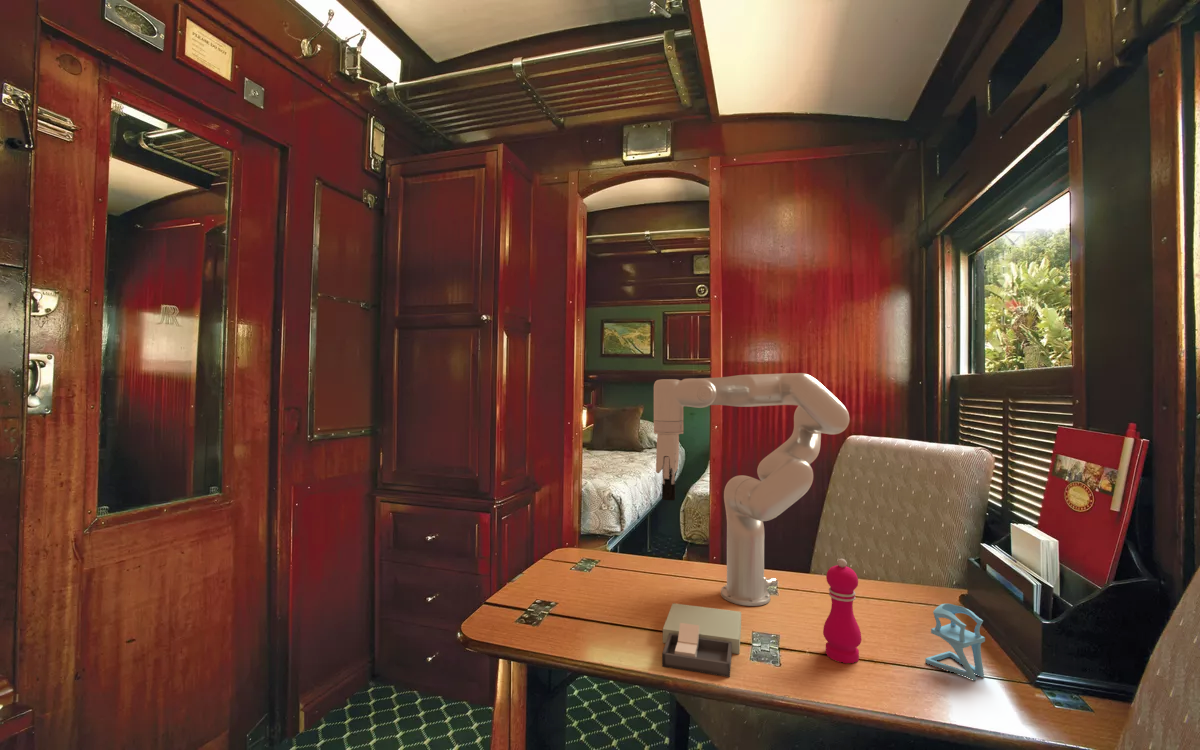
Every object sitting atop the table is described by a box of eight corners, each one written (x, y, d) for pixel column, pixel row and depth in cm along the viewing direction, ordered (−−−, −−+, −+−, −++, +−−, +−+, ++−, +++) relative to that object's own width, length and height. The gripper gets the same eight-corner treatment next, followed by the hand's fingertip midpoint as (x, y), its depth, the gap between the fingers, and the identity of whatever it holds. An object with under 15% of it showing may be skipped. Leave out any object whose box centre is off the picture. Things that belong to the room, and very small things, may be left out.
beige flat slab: (672, 615, 128) (672, 603, 128) (741, 624, 123) (741, 611, 123) (662, 642, 114) (662, 628, 115) (739, 654, 110) (739, 639, 110)
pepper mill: (859, 669, 105) (859, 567, 105) (820, 658, 108) (820, 560, 109) (863, 653, 111) (863, 557, 111) (826, 644, 114) (826, 551, 115)
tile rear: (680, 628, 114) (680, 622, 113) (699, 630, 113) (699, 625, 112) (678, 646, 111) (677, 640, 110) (697, 648, 110) (697, 643, 108)
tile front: (674, 650, 106) (674, 661, 106) (694, 653, 105) (694, 664, 105) (677, 641, 110) (677, 651, 110) (697, 644, 109) (697, 654, 109)
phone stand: (966, 684, 100) (967, 620, 100) (924, 662, 107) (924, 603, 107) (992, 675, 103) (992, 613, 103) (949, 655, 110) (949, 597, 110)
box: (669, 645, 114) (669, 633, 114) (731, 654, 110) (731, 642, 110) (662, 666, 105) (662, 653, 105) (729, 677, 101) (729, 664, 101)
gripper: (657, 425, 144) (657, 492, 143) (649, 429, 129) (650, 505, 129) (685, 425, 142) (685, 494, 142) (680, 430, 127) (681, 507, 127)
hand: (668, 499), depth 135 cm, fingers closed
